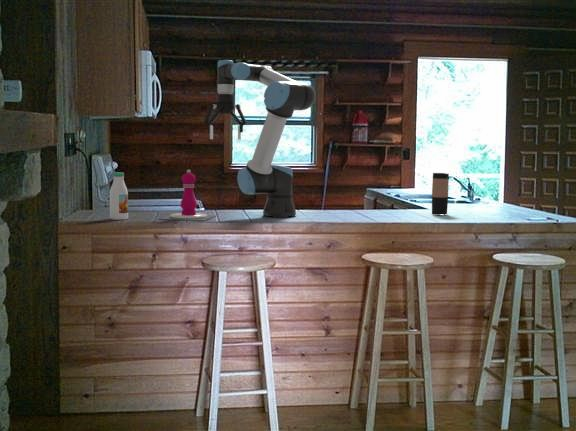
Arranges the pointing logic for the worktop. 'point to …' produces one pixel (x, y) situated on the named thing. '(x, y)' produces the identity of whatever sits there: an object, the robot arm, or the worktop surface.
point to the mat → (188, 219)
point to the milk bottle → (118, 198)
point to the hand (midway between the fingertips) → (225, 139)
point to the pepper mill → (188, 194)
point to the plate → (188, 216)
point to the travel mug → (440, 193)
